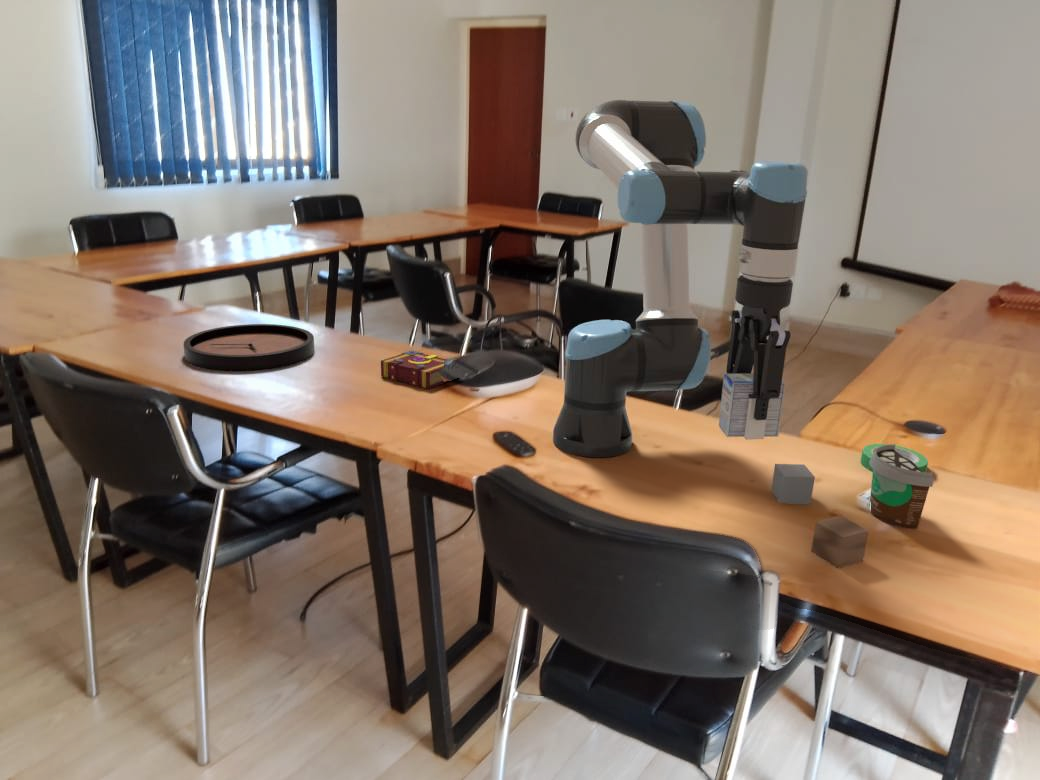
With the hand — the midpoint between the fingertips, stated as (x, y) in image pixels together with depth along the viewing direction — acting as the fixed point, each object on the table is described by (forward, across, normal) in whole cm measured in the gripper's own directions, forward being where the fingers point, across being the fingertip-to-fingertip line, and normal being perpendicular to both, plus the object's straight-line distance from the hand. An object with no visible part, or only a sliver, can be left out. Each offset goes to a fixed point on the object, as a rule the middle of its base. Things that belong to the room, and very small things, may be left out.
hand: (745, 431), depth 120 cm
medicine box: (0, 0, 0) cm, 1 cm away
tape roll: (+16, -17, +40) cm, 46 cm away
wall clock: (+16, -103, -84) cm, 134 cm away
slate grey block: (+16, -8, +14) cm, 23 cm away
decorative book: (+16, -79, -43) cm, 92 cm away
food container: (+16, 0, +26) cm, 30 cm away
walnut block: (+16, +11, +11) cm, 22 cm away
